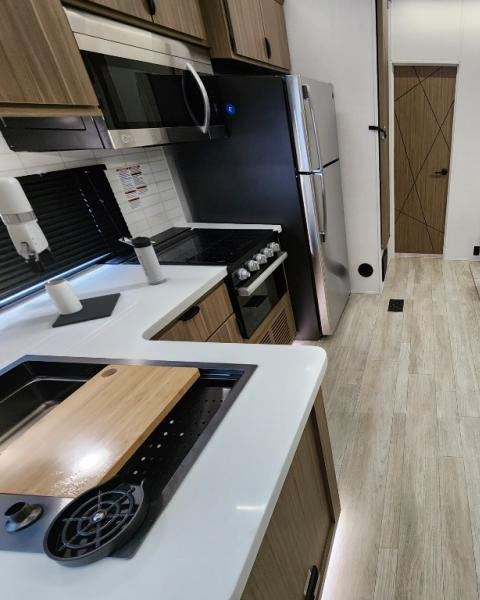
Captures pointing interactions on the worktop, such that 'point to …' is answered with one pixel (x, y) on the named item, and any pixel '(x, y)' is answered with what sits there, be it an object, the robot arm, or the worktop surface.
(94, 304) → the mat
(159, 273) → the travel mug
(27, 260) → the robot arm
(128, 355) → the worktop surface
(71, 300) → the can
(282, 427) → the worktop surface
